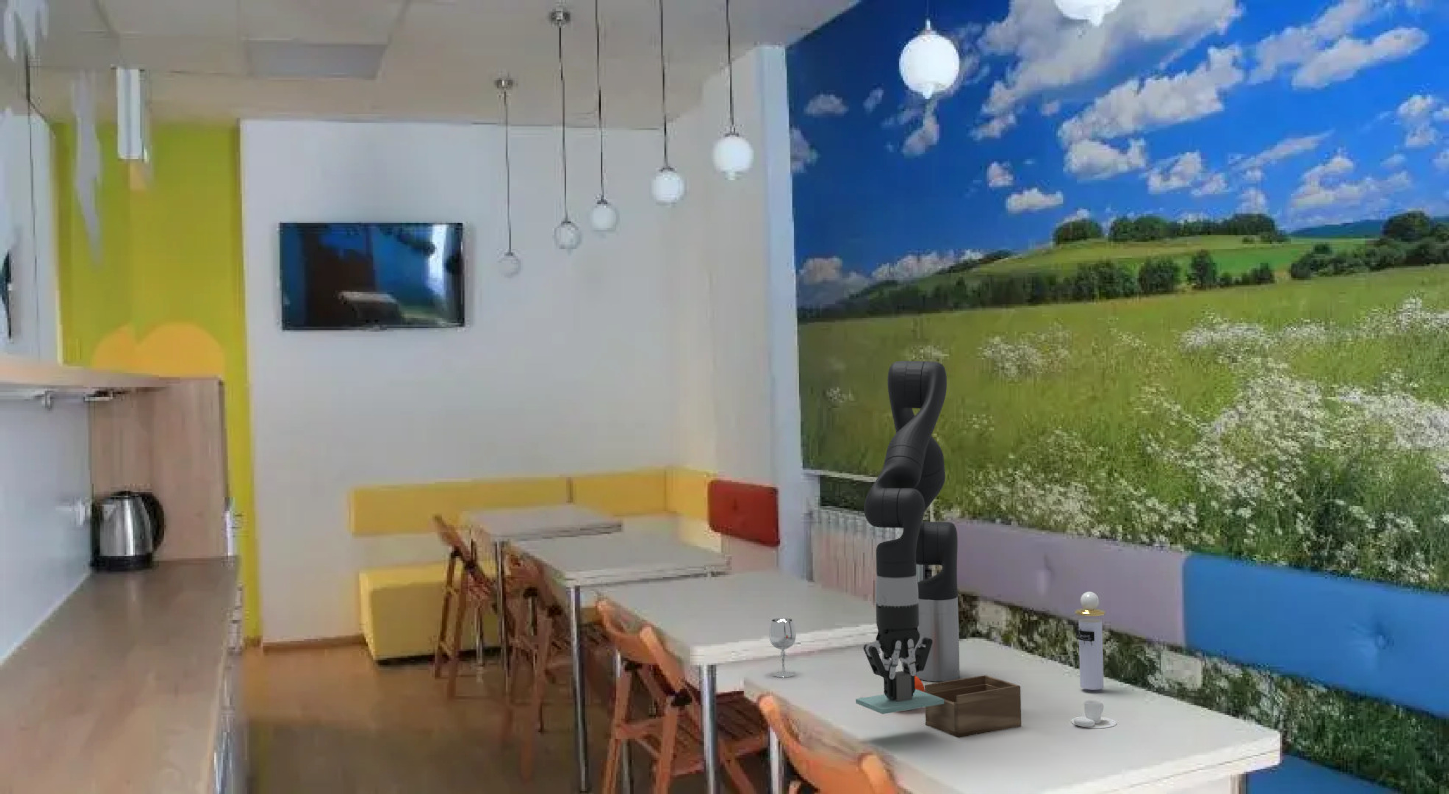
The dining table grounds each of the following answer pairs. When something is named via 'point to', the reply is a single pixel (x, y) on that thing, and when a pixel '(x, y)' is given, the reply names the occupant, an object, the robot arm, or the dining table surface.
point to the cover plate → (899, 706)
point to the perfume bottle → (1090, 643)
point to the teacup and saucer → (1092, 715)
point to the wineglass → (782, 639)
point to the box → (974, 706)
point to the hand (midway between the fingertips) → (899, 697)
